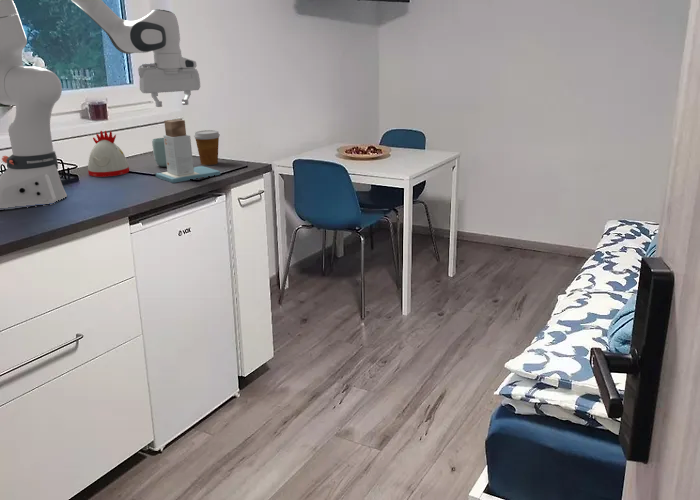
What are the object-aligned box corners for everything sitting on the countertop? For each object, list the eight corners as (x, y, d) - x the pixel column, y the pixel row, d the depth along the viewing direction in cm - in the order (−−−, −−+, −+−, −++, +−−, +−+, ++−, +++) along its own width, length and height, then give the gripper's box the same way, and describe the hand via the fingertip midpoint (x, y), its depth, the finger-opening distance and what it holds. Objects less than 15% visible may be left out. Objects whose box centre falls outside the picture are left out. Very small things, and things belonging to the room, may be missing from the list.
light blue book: (172, 182, 212) (172, 178, 211) (156, 176, 221) (155, 172, 221) (220, 174, 223) (220, 170, 222) (202, 169, 232) (202, 165, 232)
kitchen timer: (121, 176, 223) (115, 133, 218) (82, 177, 223) (75, 134, 218) (134, 168, 236) (129, 127, 231) (97, 168, 236) (91, 128, 232)
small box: (194, 173, 219) (190, 135, 215) (177, 176, 215) (173, 137, 211) (183, 169, 225) (179, 132, 221) (166, 172, 221) (162, 135, 217)
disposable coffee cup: (195, 166, 237) (192, 134, 233) (197, 161, 246) (194, 130, 242) (221, 165, 238) (218, 133, 234) (222, 160, 247) (220, 129, 243)
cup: (157, 164, 242) (153, 137, 239) (177, 163, 243) (175, 137, 240) (153, 168, 235) (150, 141, 232) (174, 167, 236) (171, 140, 233)
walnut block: (172, 137, 212) (170, 122, 210) (165, 135, 216) (164, 120, 214) (186, 135, 215) (184, 120, 214) (179, 133, 219) (177, 119, 217)
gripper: (141, 63, 199) (146, 108, 203) (200, 62, 212) (204, 104, 216) (133, 63, 204) (138, 107, 208) (191, 61, 216) (195, 103, 221)
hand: (172, 105), depth 212 cm, fingers open, 8 cm apart
